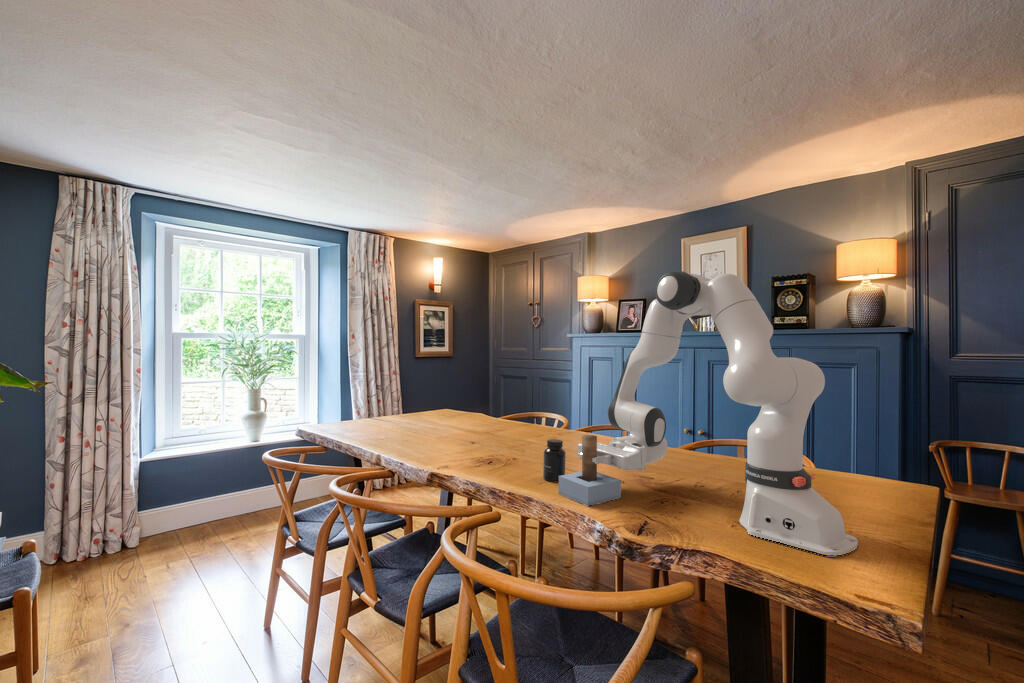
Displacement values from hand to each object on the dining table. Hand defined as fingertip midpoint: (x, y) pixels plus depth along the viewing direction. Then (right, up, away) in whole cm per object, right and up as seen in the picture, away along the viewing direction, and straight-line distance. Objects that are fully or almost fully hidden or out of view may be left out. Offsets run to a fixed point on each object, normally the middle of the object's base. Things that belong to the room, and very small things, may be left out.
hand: (587, 458), depth 126 cm
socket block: (+1, -11, 0) cm, 11 cm away
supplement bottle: (-7, -11, +16) cm, 21 cm away
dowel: (+1, -8, 0) cm, 8 cm away
